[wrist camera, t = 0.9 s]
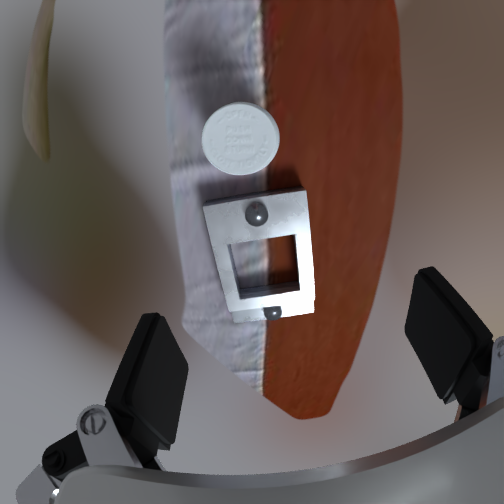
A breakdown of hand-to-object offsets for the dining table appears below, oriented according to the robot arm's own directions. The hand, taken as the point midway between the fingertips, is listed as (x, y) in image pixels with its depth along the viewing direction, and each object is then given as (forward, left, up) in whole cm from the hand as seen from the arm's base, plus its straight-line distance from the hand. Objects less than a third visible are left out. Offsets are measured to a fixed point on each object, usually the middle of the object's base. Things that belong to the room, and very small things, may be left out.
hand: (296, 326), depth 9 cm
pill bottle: (-6, -1, -23) cm, 24 cm away
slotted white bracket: (+9, -1, -23) cm, 24 cm away
